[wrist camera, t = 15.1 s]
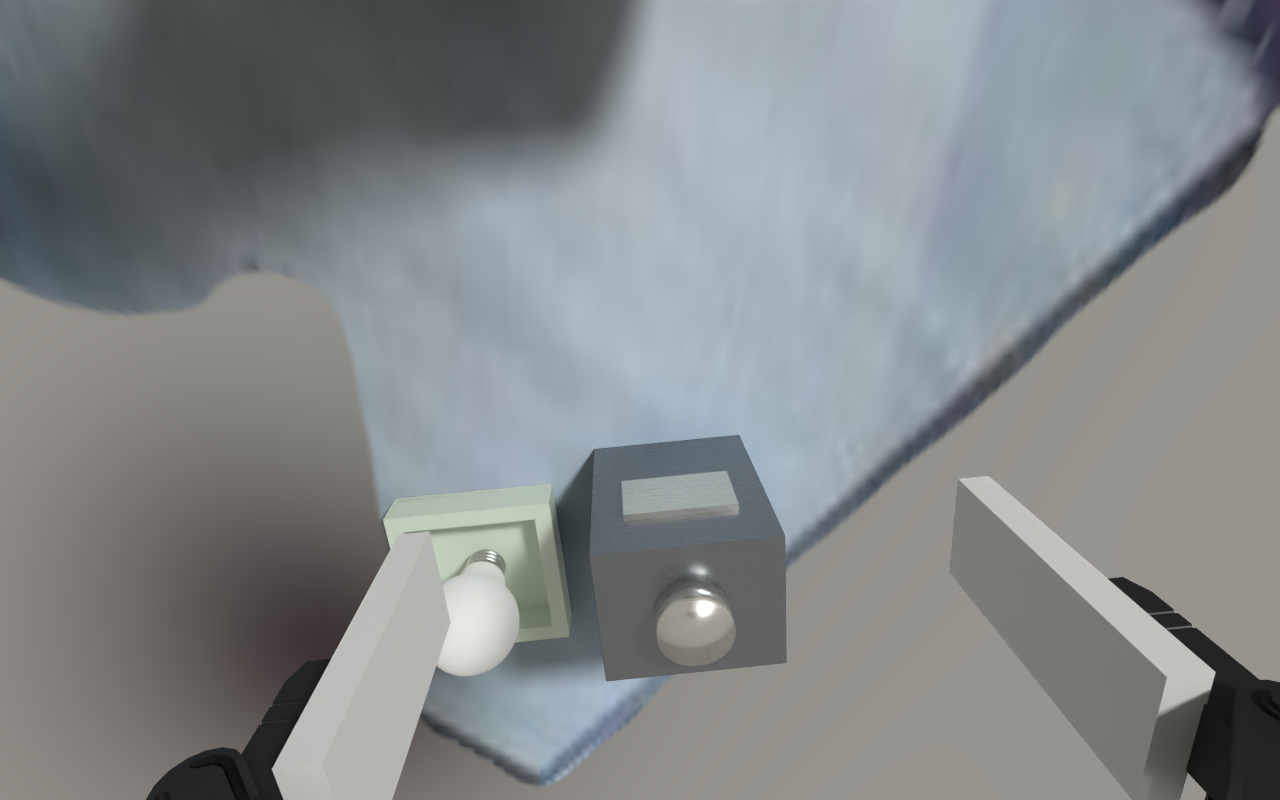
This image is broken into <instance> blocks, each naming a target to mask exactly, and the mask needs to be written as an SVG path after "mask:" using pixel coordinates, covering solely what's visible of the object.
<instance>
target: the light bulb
mask: <svg viewBox="0 0 1280 800" xmlns="http://www.w3.org/2000/svg"><path fill="white" fill-rule="evenodd" d="M505 571H506V563H505V560H504V558H503V557H502V556H501V555H500V554H499V553H498V552H496V551H494V550H489V549H483V550H479V551H477V552H476V553H474V554H473V555H471V557H470V558H469V560H468V561H467V565H466V567H465V568H464V570H463V571H462V572H461V574H460V575H459V576H456V577H453V578H451V579H449V580H447V581H445V582H444V583H442V587H443V591H444V595H445V600H446V604H447V608H448V613H449V617H450V621H451V623H450V626H449V629H448V632H447V635H446V638H445V641H444V644H443V647H442V650H441V653H440V656H439V659H438V662H437V665H436V666H437V667H438V668H439V669H441V670H443V671H444V672H446V673H449V674H452V675H456V676H474V675H478V674H481V673H485V672H487V671H489V670H491V669H493V668H494V667H495V666H496V665H498V664H499V663H500V662H502V661H503V660H504V659H505V657H506V656H507V655H508V654H509V652H510V651H511V649H512V647H513V646H514V644H515V641H516V638H517V635H518V631H519V611H518V607H517V603H516V601H515V599H514V597H513V595H512V594H511V592H510V591H509V590H508V589H507V587H506V586H505V578H504V575H505Z"/></svg>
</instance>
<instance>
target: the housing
mask: <svg viewBox="0 0 1280 800" xmlns="http://www.w3.org/2000/svg"><path fill="white" fill-rule="evenodd" d="M589 557H590V564H591V572H592V579H593V587H594V594H595V602H596V609H597V617H598V624H599V632H600V639H601V647H602V654H603V661H604V669H605V676H606V681H614V680H624V679H634V678H644V677H653V676H663V675H673V674H683V673H693V672H702V671H712V670H722V669H732V668H741V667H751V666H761V665H771V664H781V663H786V571H785V534H784V532H783V530H782V528H781V526H780V523H779V521H778V519H777V517H776V515H775V512H774V510H773V508H772V506H771V504H770V502H769V499H768V497H767V495H766V493H765V491H764V488H763V486H762V484H761V482H760V480H759V477H758V475H757V473H756V471H755V469H754V466H753V464H752V462H751V460H750V458H749V455H748V453H747V451H746V449H745V447H744V444H743V442H742V440H741V438H740V436H739V435H735V436H725V437H715V438H704V439H694V440H684V441H674V442H664V443H653V444H643V445H633V446H623V447H613V448H602V449H594V463H593V485H592V507H591V529H590V551H589Z"/></svg>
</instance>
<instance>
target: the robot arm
mask: <svg viewBox="0 0 1280 800" xmlns="http://www.w3.org/2000/svg"><path fill="white" fill-rule="evenodd" d="M950 574H951V575H952V576H953V577H954V579H955V580H956V581H957V582H958V583H959V585H960V586H961V587H962V589H963V590H964V591H965V592H966V593H967V595H968V596H969V597H970V599H971V600H972V601H973V602H974V604H975V605H976V606H977V607H978V608H979V610H980V611H981V612H982V614H983V615H984V616H985V617H986V618H987V620H988V621H989V622H990V623H991V625H992V626H993V627H994V628H995V629H996V631H997V632H998V633H999V635H1000V636H1001V637H1002V638H1003V640H1004V641H1005V642H1006V643H1007V645H1008V646H1009V647H1010V648H1011V650H1012V651H1013V652H1014V653H1015V655H1016V656H1017V657H1018V658H1019V659H1020V661H1021V662H1022V663H1023V664H1024V666H1025V667H1026V668H1027V669H1028V671H1029V672H1030V673H1031V675H1032V676H1033V677H1034V678H1035V679H1036V681H1037V682H1038V683H1039V684H1040V686H1041V687H1042V688H1043V689H1044V691H1045V692H1046V693H1047V694H1048V696H1049V697H1050V698H1051V699H1052V701H1053V702H1054V703H1055V704H1056V705H1057V707H1058V708H1059V709H1060V710H1061V712H1062V713H1063V714H1064V715H1065V717H1066V718H1067V719H1068V721H1069V722H1070V723H1071V724H1072V726H1073V727H1074V728H1075V729H1076V731H1077V732H1078V733H1079V734H1080V736H1081V737H1082V738H1083V739H1084V741H1085V742H1086V743H1087V744H1088V745H1089V747H1090V748H1091V749H1092V750H1093V752H1094V753H1095V754H1096V755H1097V757H1098V758H1099V759H1100V760H1101V762H1102V763H1103V764H1104V765H1105V767H1106V768H1107V769H1108V770H1109V772H1110V773H1111V774H1112V775H1113V777H1114V778H1115V779H1116V780H1117V782H1118V783H1119V784H1120V785H1121V786H1122V788H1123V789H1124V790H1125V792H1126V793H1127V794H1128V795H1129V797H1131V799H1132V800H1179V799H1180V797H1181V794H1182V791H1183V787H1184V783H1185V780H1186V776H1187V773H1189V774H1190V775H1191V777H1192V778H1193V779H1194V780H1195V781H1196V782H1197V783H1198V784H1199V785H1200V786H1201V787H1202V788H1203V789H1204V791H1206V793H1207V794H1206V797H1205V800H1280V682H1275V681H1271V680H1259V679H1258V678H1257V677H1256V676H1254V675H1253V674H1252V673H1251V672H1249V671H1248V670H1247V669H1246V668H1244V667H1243V666H1242V665H1241V664H1239V663H1238V662H1237V661H1236V660H1235V659H1233V658H1232V657H1231V656H1230V655H1229V654H1227V653H1226V652H1225V651H1224V650H1222V649H1221V648H1220V647H1219V646H1218V645H1216V644H1215V643H1214V642H1213V641H1211V640H1210V639H1209V638H1208V637H1206V636H1205V635H1204V634H1203V633H1202V632H1201V631H1199V630H1198V629H1197V628H1193V627H1192V625H1191V623H1189V622H1188V621H1187V620H1186V619H1185V618H1183V617H1182V616H1181V615H1180V614H1178V613H1174V610H1173V609H1172V608H1171V607H1170V606H1169V605H1167V604H1166V603H1165V602H1164V601H1162V600H1161V599H1160V598H1159V597H1158V596H1156V595H1155V594H1154V593H1153V592H1151V591H1149V590H1147V589H1145V588H1143V587H1141V586H1139V585H1137V584H1135V583H1133V582H1131V581H1129V580H1128V579H1125V578H1123V577H1120V578H1110V579H1107V578H1106V577H1105V576H1104V575H1102V574H1101V573H1100V572H1099V571H1098V570H1097V569H1096V568H1094V567H1093V566H1092V565H1091V564H1090V563H1089V562H1087V561H1086V560H1085V559H1084V558H1083V557H1082V556H1081V555H1079V554H1078V553H1077V552H1076V551H1075V550H1073V549H1072V548H1071V547H1070V546H1069V545H1068V544H1067V543H1065V542H1064V541H1063V540H1062V539H1061V538H1060V537H1058V536H1057V535H1056V534H1055V533H1054V532H1053V531H1052V530H1050V529H1049V528H1048V527H1047V526H1046V525H1045V524H1044V523H1042V522H1041V521H1040V520H1039V519H1038V518H1037V517H1035V516H1034V515H1033V514H1032V513H1031V512H1030V511H1029V510H1027V509H1026V508H1025V507H1024V506H1023V505H1021V504H1020V503H1019V502H1018V501H1017V500H1016V499H1014V498H1013V497H1012V496H1011V495H1010V494H1009V493H1008V492H1007V491H1005V490H1004V489H1003V488H1002V487H1001V486H999V485H998V484H997V483H996V482H995V481H994V480H993V479H991V478H990V477H989V476H984V477H974V478H964V479H958V486H957V496H956V507H955V517H954V529H953V539H952V550H951V560H950ZM450 623H451V621H450V617H449V613H448V608H447V604H446V600H445V595H444V591H443V587H442V582H441V578H440V574H439V569H438V565H437V561H436V556H435V552H434V548H433V543H432V539H431V535H430V531H429V532H419V533H409V534H399V535H398V537H397V538H396V540H395V542H394V544H393V546H392V548H391V550H390V551H389V553H388V555H387V557H386V559H385V561H384V562H383V564H382V566H381V568H380V570H379V572H378V574H377V575H376V577H375V579H374V581H373V583H372V585H371V587H370V588H369V590H368V592H367V594H366V596H365V598H364V600H363V601H362V603H361V605H360V607H359V609H358V611H357V612H356V615H355V616H354V618H353V620H352V622H351V624H350V625H349V627H348V629H347V631H346V633H345V635H344V637H343V639H342V641H341V642H340V644H339V646H338V648H337V649H336V651H335V653H334V655H333V657H332V659H324V660H315V661H307V662H306V663H305V664H304V665H303V666H302V667H301V668H299V669H298V670H297V671H296V672H295V673H294V674H293V675H292V676H291V677H290V678H289V679H288V680H286V682H285V683H284V685H283V687H282V688H281V690H280V691H279V693H278V695H277V696H276V698H275V700H274V702H273V706H272V707H270V708H269V710H268V711H267V713H266V715H265V716H264V718H263V720H262V725H259V726H258V728H257V730H256V732H255V733H254V735H253V736H252V738H251V740H250V741H249V743H248V744H247V746H246V748H245V750H244V751H243V753H242V754H240V753H239V752H238V751H237V750H236V749H230V748H223V747H222V748H217V749H211V750H207V751H204V752H201V753H199V754H197V755H194V756H192V757H190V758H187V759H186V760H185V761H183V762H182V763H180V764H178V765H177V766H176V767H174V768H173V769H171V770H170V771H168V772H167V773H166V774H165V775H164V776H163V777H162V778H161V779H160V780H159V781H158V782H157V783H156V784H155V785H154V787H153V789H152V790H151V792H150V794H149V795H148V798H147V799H146V800H392V798H393V795H394V792H395V789H396V786H397V783H398V780H399V777H400V774H401V771H402V768H403V765H404V762H405V759H406V756H407V753H408V750H409V747H410V744H411V741H412V738H413V735H414V732H415V729H416V726H417V723H418V720H419V717H420V714H421V711H422V708H423V705H424V702H425V699H426V696H427V693H428V690H429V687H430V684H431V681H432V678H433V675H434V672H435V668H436V665H437V662H438V659H439V656H440V653H441V650H442V647H443V644H444V641H445V638H446V635H447V632H448V629H449V626H450Z"/></svg>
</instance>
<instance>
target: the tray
mask: <svg viewBox="0 0 1280 800" xmlns="http://www.w3.org/2000/svg"><path fill="white" fill-rule="evenodd" d="M383 522H384V526H385V530H386V534H387V538H388V541H389V545H390V549H391V548H392V546H393V544H394V542H395V540H396V538H397V537H398V535H399V534H409V533H419V532H429V531H430V535H431V539H432V543H433V548H434V552H435V556H436V561H437V565H438V569H439V574H440V578H441V582H442V583H444V582H445V581H447V580H449V579H451V578H453V577H456V576H459V575H460V574H461V572H462V571H463V570H464V568H465V567H466V565H467V561H468V560H469V558H470V557H471V555H473V554H474V553H476V552H477V551H479V550H483V549H489V550H494V551H496V552H498V553H499V554H500V555H501V556H502V557H503V558H504V560H505V563H506V571H505V575H504V578H505V586H506V587H507V589H508V590H509V591H510V592H511V594H512V595H513V597H514V599H515V601H516V603H517V607H518V611H519V631H518V635H517V638H516V641H515V642H525V641H535V640H545V639H554V638H564V637H570V624H571V605H570V598H569V591H568V585H567V578H566V571H565V565H564V558H563V552H562V545H561V538H560V532H559V525H558V518H557V512H556V505H555V498H554V492H553V485H552V483H550V484H540V485H530V486H520V487H509V488H499V489H489V490H479V491H469V492H459V493H448V494H438V495H428V496H418V497H408V498H398V499H395V501H394V502H393V504H392V506H391V507H390V509H389V511H388V512H387V514H386V516H385V517H384V519H383Z"/></svg>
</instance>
